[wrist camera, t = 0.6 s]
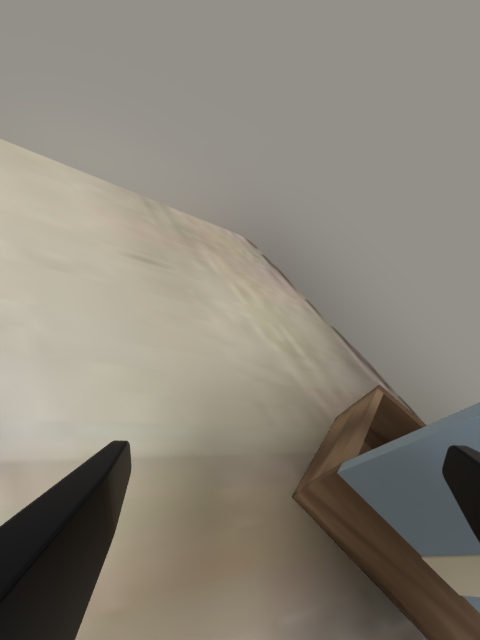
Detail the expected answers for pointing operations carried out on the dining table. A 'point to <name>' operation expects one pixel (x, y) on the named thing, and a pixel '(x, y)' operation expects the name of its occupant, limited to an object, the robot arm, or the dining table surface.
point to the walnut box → (380, 521)
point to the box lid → (424, 497)
